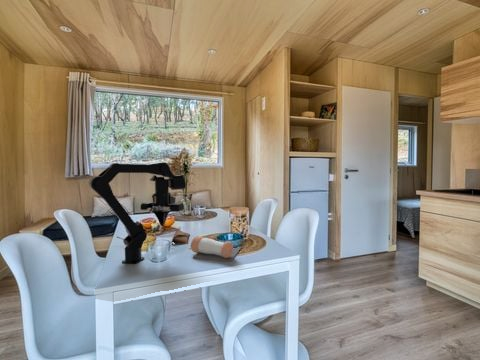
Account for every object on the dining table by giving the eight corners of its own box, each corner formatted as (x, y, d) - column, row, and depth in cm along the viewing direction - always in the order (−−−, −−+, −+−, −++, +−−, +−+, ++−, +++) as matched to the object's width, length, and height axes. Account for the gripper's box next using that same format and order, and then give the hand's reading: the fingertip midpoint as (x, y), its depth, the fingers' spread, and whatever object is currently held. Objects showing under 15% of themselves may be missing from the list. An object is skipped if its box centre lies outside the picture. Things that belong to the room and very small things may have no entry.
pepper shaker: (189, 250, 113) (226, 258, 104) (193, 234, 116) (231, 240, 107) (198, 253, 119) (234, 260, 110) (202, 237, 122) (238, 243, 113)
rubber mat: (231, 261, 107) (231, 260, 107) (193, 257, 111) (193, 256, 111) (241, 247, 125) (241, 246, 124) (208, 245, 129) (208, 244, 129)
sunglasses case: (189, 243, 131) (182, 232, 130) (177, 251, 130) (169, 240, 129) (190, 234, 149) (184, 224, 148) (179, 241, 148) (173, 231, 147)
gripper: (189, 189, 120) (189, 222, 121) (153, 188, 124) (154, 220, 125) (177, 192, 109) (178, 228, 110) (139, 191, 114) (140, 226, 115)
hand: (162, 225), depth 115 cm, fingers closed
